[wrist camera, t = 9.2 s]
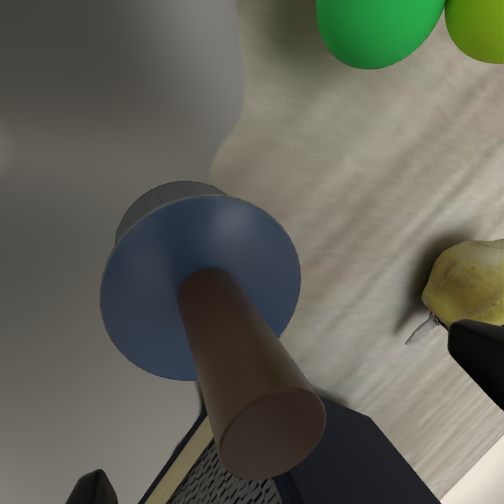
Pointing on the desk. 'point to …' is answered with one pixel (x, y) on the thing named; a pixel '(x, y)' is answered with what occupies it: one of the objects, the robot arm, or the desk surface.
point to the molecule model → (408, 28)
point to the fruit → (465, 286)
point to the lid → (218, 324)
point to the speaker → (296, 470)
